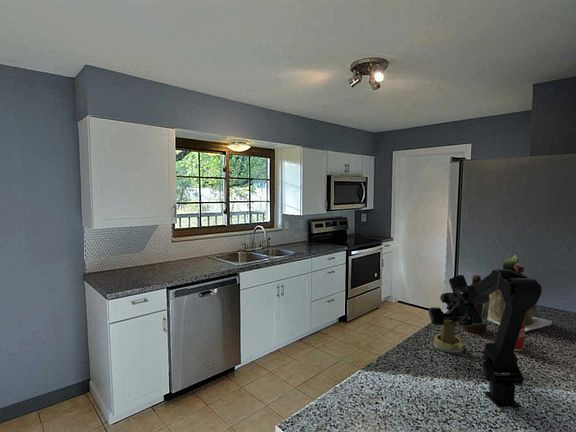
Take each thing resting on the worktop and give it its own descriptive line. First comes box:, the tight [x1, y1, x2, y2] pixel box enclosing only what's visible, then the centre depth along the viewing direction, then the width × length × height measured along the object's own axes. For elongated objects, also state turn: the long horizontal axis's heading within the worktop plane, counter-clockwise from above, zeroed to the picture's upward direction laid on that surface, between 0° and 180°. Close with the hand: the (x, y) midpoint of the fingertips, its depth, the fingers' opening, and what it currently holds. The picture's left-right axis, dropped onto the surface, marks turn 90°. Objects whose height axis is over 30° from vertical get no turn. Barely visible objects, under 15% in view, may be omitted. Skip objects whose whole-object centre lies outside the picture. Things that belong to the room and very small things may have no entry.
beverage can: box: [514, 322, 526, 352], centre depth 131 cm, size 6×6×12 cm
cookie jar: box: [487, 255, 553, 333], centre depth 160 cm, size 25×25×32 cm
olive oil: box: [462, 274, 490, 335], centre depth 149 cm, size 11×11×25 cm
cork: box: [440, 320, 457, 344], centre depth 132 cm, size 6×6×11 cm
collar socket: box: [432, 333, 464, 355], centre depth 132 cm, size 11×11×3 cm
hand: (447, 324), depth 133 cm, fingers open, 9 cm apart
